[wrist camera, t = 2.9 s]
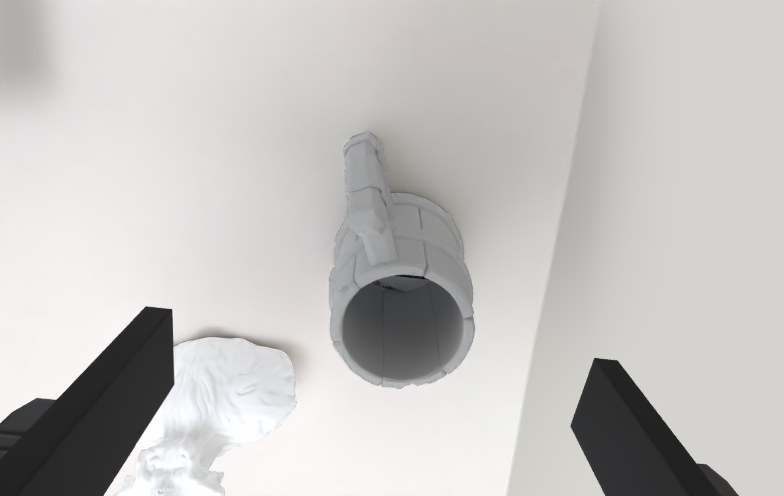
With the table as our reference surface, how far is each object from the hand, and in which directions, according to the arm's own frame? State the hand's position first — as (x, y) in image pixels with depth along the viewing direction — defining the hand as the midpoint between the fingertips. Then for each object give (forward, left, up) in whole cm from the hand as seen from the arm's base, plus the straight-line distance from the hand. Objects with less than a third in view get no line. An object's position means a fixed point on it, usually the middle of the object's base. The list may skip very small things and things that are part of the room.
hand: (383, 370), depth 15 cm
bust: (+10, +13, -16) cm, 22 cm away
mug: (0, 0, -16) cm, 16 cm away
